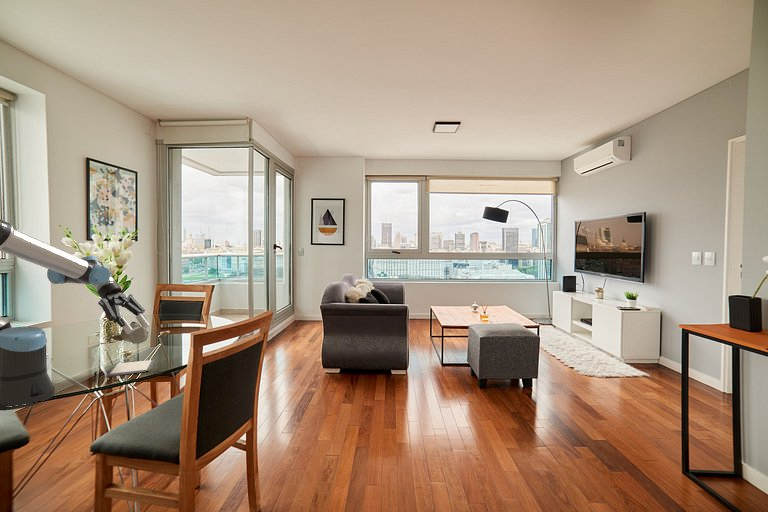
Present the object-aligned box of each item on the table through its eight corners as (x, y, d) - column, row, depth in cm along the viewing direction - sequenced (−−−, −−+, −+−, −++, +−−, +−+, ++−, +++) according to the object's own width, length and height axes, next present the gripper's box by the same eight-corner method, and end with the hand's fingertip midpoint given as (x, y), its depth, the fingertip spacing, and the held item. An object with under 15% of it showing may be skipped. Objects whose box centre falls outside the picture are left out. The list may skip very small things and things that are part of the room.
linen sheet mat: (106, 376, 142) (106, 374, 142) (115, 364, 155) (115, 362, 155) (148, 372, 147) (148, 370, 147) (154, 360, 160) (154, 359, 160)
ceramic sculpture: (128, 325, 144) (108, 322, 151) (128, 347, 144) (109, 343, 151) (156, 320, 153) (136, 318, 160) (156, 341, 153) (136, 338, 160)
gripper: (124, 290, 164) (154, 329, 161) (76, 297, 144) (110, 341, 141) (133, 279, 162) (164, 318, 159) (87, 284, 143) (121, 329, 140)
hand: (138, 329), depth 150 cm, fingers closed on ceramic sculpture, 7 cm apart
